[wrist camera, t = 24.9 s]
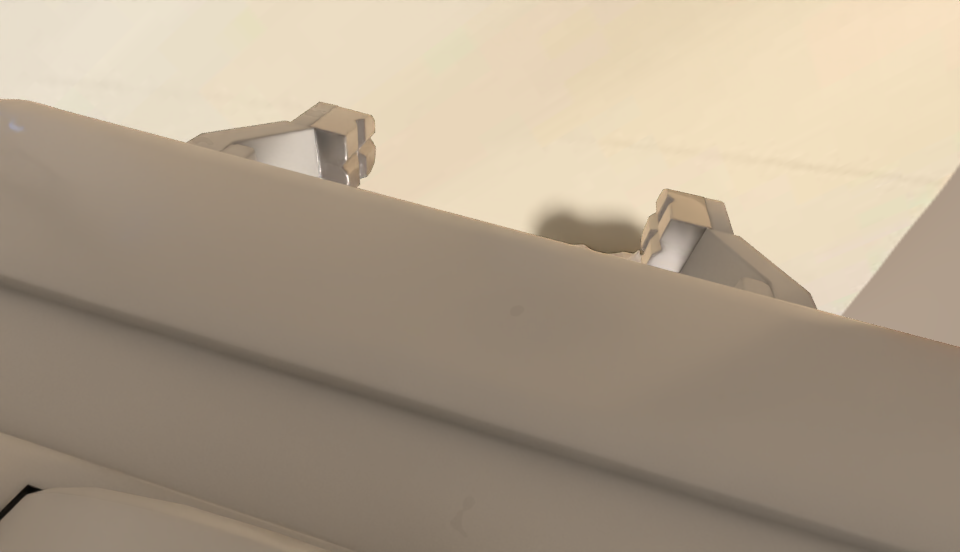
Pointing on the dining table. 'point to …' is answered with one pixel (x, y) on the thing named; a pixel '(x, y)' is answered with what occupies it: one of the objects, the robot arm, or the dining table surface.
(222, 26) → the dining table surface
